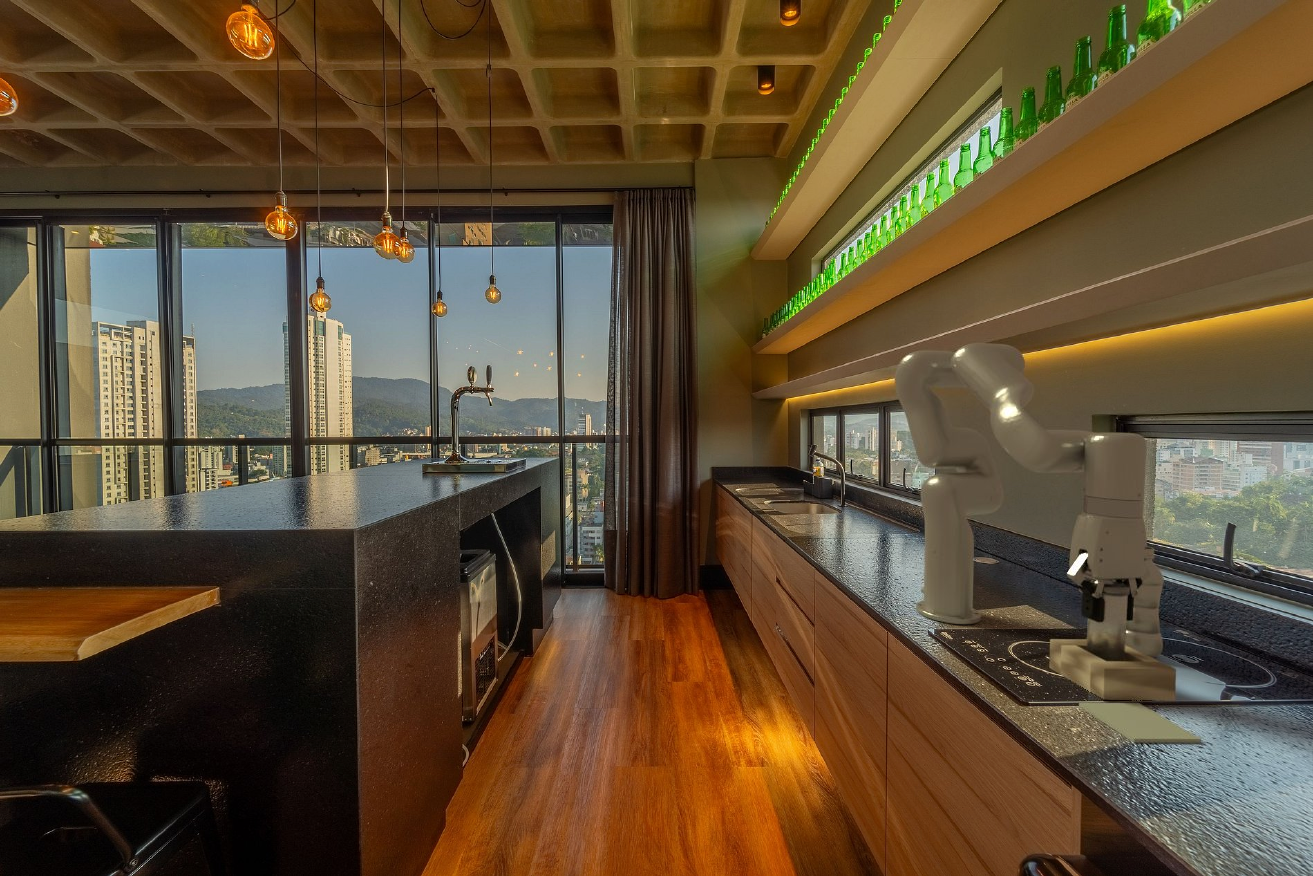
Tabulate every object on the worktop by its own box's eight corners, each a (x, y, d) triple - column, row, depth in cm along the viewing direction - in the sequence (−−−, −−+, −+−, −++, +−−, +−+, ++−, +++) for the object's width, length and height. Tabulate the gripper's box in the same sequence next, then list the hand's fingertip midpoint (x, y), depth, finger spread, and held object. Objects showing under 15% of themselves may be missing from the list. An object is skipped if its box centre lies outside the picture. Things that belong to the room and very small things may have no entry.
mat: (1078, 706, 78) (1079, 702, 78) (1138, 706, 78) (1138, 703, 78) (1133, 742, 69) (1133, 738, 69) (1201, 742, 69) (1201, 739, 69)
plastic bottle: (1172, 664, 93) (1175, 552, 92) (1128, 660, 94) (1131, 550, 94) (1146, 648, 99) (1149, 544, 98) (1105, 645, 100) (1108, 542, 100)
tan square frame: (1049, 667, 91) (1050, 639, 91) (1112, 668, 91) (1113, 639, 91) (1103, 701, 80) (1104, 668, 80) (1175, 701, 80) (1176, 669, 80)
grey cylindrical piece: (1076, 649, 88) (1079, 579, 88) (1103, 648, 89) (1106, 578, 88) (1107, 664, 83) (1110, 589, 82) (1135, 662, 84) (1138, 588, 83)
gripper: (1132, 503, 90) (1127, 608, 91) (1045, 505, 87) (1041, 612, 88) (1182, 511, 82) (1176, 625, 83) (1089, 513, 80) (1083, 630, 81)
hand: (1106, 617), depth 86 cm, fingers closed on grey cylindrical piece, 4 cm apart
